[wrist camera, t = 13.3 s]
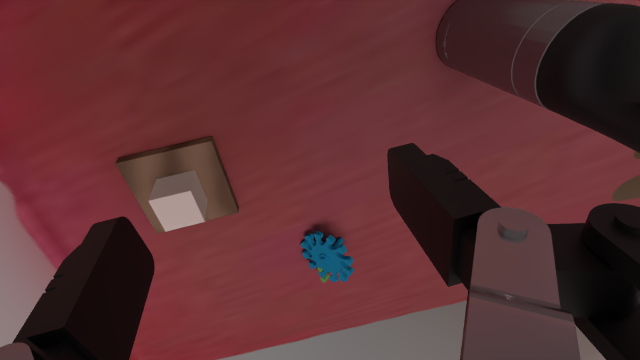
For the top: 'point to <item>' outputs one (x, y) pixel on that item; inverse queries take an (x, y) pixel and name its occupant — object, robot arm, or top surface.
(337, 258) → the blue piece
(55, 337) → the robot arm
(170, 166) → the board
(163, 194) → the pale grey cube block
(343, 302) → the top surface
